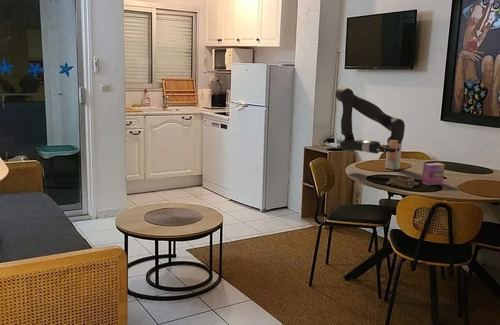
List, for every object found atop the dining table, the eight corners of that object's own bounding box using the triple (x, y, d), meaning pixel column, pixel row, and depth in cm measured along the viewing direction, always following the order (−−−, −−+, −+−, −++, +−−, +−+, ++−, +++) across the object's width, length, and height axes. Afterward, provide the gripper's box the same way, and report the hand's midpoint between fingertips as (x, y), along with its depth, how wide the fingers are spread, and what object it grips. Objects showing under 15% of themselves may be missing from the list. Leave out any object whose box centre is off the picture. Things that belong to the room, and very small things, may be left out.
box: (427, 185, 285) (429, 165, 283) (421, 183, 291) (423, 163, 288) (443, 184, 288) (445, 164, 286) (436, 182, 293) (438, 162, 291)
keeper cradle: (394, 179, 297) (394, 173, 296) (419, 183, 288) (419, 177, 287) (384, 183, 286) (385, 177, 286) (410, 188, 277) (410, 182, 277)
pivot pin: (390, 159, 305) (391, 139, 303) (397, 160, 302) (399, 140, 300) (386, 160, 301) (388, 140, 299) (394, 161, 298) (395, 141, 296)
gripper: (366, 142, 303) (392, 145, 292) (376, 139, 314) (402, 142, 303) (365, 154, 304) (392, 158, 294) (375, 151, 315) (401, 154, 305)
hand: (397, 150), depth 299 cm, fingers closed on pivot pin, 5 cm apart
